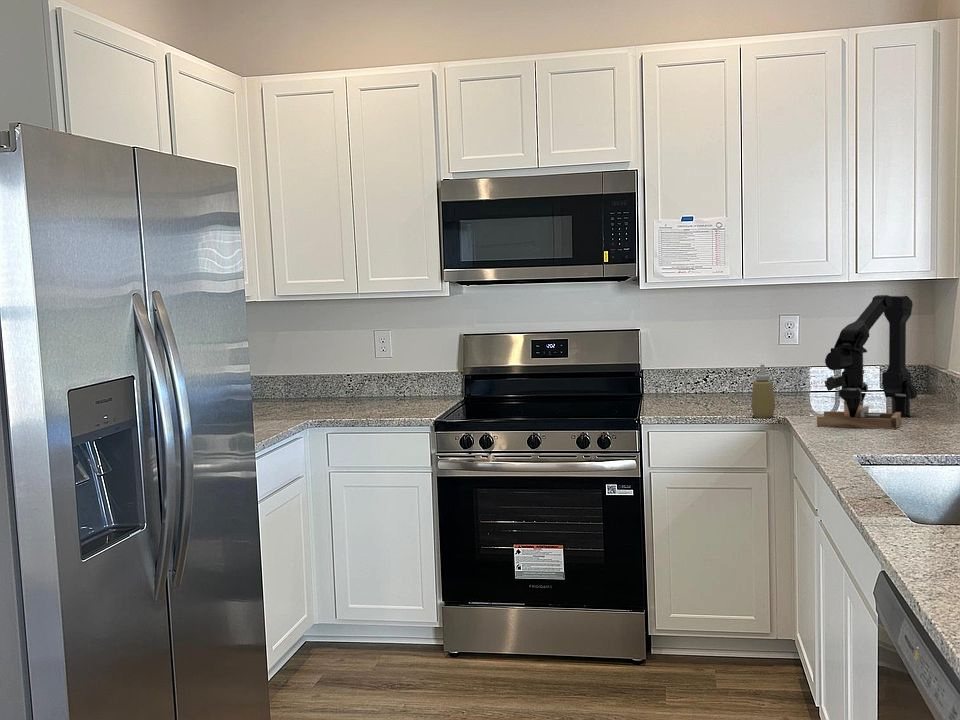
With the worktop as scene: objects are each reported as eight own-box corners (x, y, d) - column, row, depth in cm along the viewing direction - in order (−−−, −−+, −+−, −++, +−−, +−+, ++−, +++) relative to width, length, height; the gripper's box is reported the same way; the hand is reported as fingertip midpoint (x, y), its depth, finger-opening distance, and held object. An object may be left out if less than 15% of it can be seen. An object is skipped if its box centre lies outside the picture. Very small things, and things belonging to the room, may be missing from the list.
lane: (824, 420, 308) (824, 409, 308) (901, 422, 297) (901, 411, 297) (817, 426, 296) (816, 415, 296) (896, 429, 285) (896, 417, 285)
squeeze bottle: (746, 416, 324) (745, 364, 322) (765, 414, 326) (764, 363, 325) (761, 419, 316) (760, 366, 315) (780, 417, 319) (780, 364, 318)
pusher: (865, 418, 301) (865, 406, 300) (882, 419, 298) (882, 406, 298) (860, 423, 292) (860, 410, 291) (878, 423, 289) (877, 410, 289)
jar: (845, 418, 301) (845, 399, 301) (864, 419, 299) (864, 400, 298) (842, 421, 296) (842, 402, 296) (862, 421, 294) (862, 402, 293)
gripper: (831, 365, 308) (832, 412, 309) (821, 370, 292) (821, 420, 293) (867, 365, 303) (868, 413, 304) (859, 370, 287) (860, 421, 288)
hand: (853, 416), depth 297 cm, fingers closed on jar, 6 cm apart
